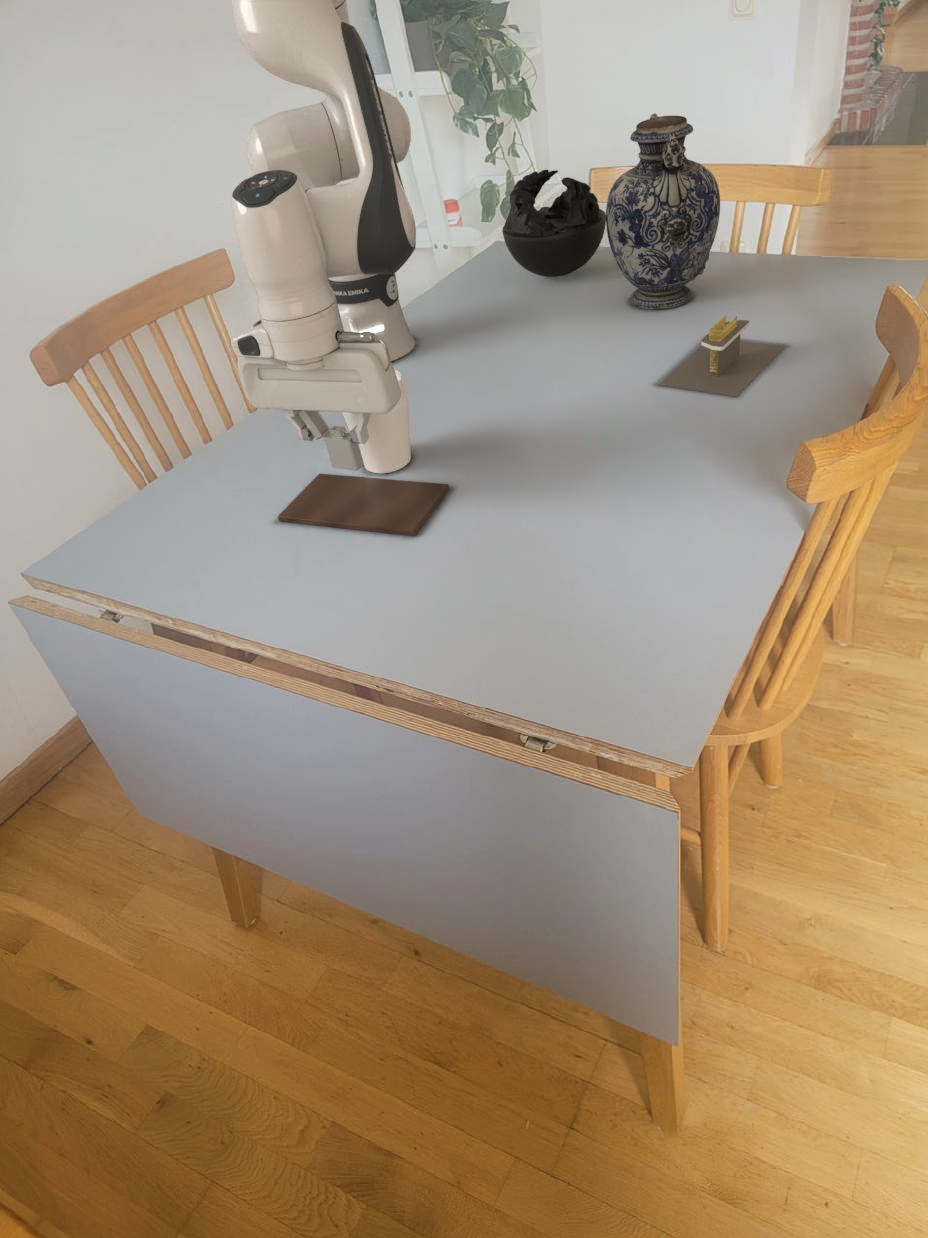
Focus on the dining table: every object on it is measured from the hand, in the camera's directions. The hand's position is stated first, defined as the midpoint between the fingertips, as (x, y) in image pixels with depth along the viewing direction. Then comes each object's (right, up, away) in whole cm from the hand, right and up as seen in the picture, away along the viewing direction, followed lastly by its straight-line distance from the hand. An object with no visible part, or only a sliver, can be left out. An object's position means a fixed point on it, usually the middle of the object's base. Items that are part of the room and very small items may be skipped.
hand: (334, 440), depth 106 cm
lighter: (0, -3, +2) cm, 4 cm away
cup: (+5, 0, +14) cm, 15 cm away
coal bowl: (+35, +47, +64) cm, 87 cm away
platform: (+55, +15, +21) cm, 61 cm away
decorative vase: (+52, +34, +45) cm, 77 cm away
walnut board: (+3, -8, +5) cm, 10 cm away
